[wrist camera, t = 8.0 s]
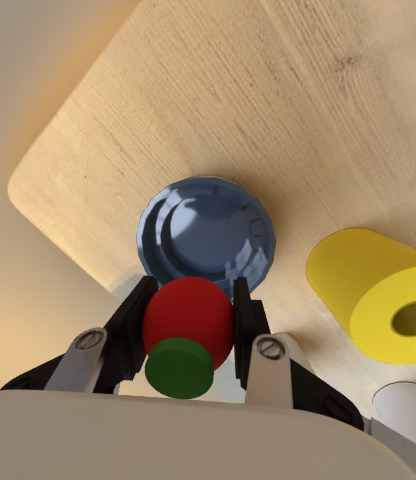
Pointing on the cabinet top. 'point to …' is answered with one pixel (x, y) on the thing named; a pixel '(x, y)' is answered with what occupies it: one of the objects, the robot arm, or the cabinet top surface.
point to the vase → (398, 408)
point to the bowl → (206, 234)
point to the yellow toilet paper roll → (369, 291)
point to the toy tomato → (187, 336)
